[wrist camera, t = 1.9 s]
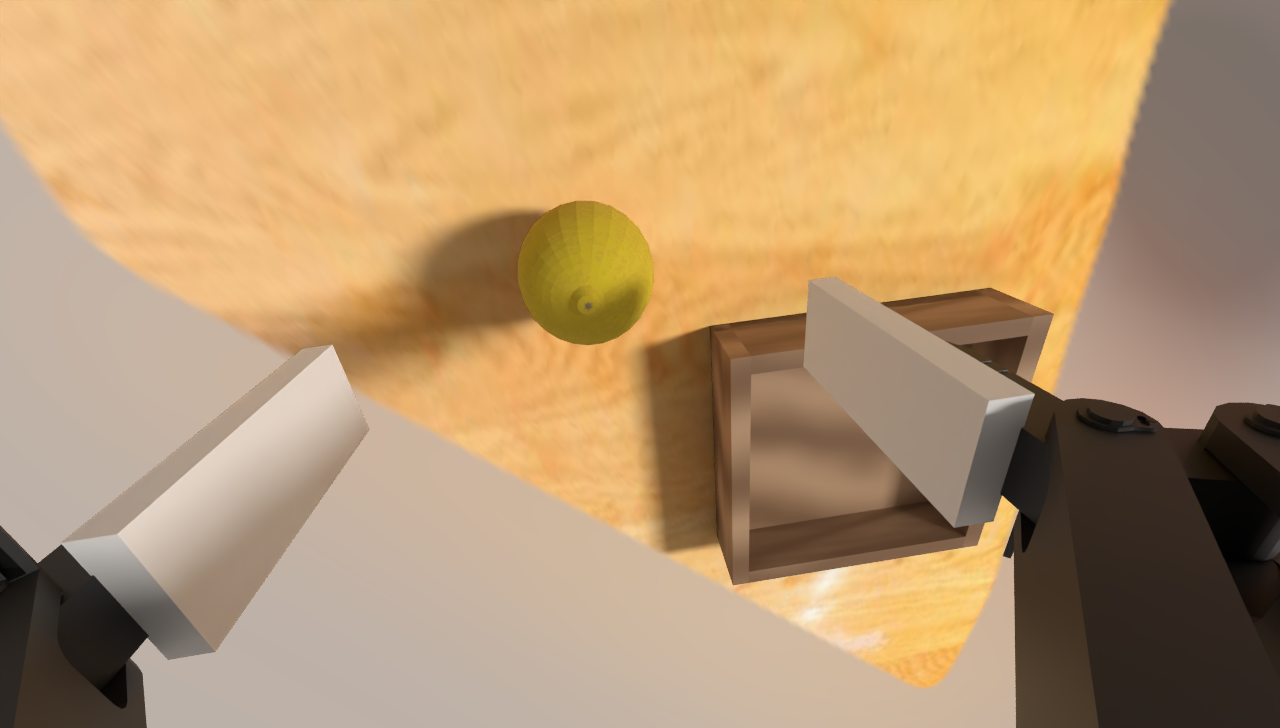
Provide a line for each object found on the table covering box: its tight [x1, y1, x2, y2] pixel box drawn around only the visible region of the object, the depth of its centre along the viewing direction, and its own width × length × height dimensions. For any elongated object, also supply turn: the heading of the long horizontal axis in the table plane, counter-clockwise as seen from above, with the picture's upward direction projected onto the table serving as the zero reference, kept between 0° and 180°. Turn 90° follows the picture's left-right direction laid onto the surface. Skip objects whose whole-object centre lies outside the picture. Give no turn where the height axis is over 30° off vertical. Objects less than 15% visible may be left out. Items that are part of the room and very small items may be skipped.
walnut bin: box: [710, 288, 1054, 585], centre depth 28 cm, size 16×16×4 cm
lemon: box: [518, 201, 654, 345], centre depth 20 cm, size 6×6×8 cm
